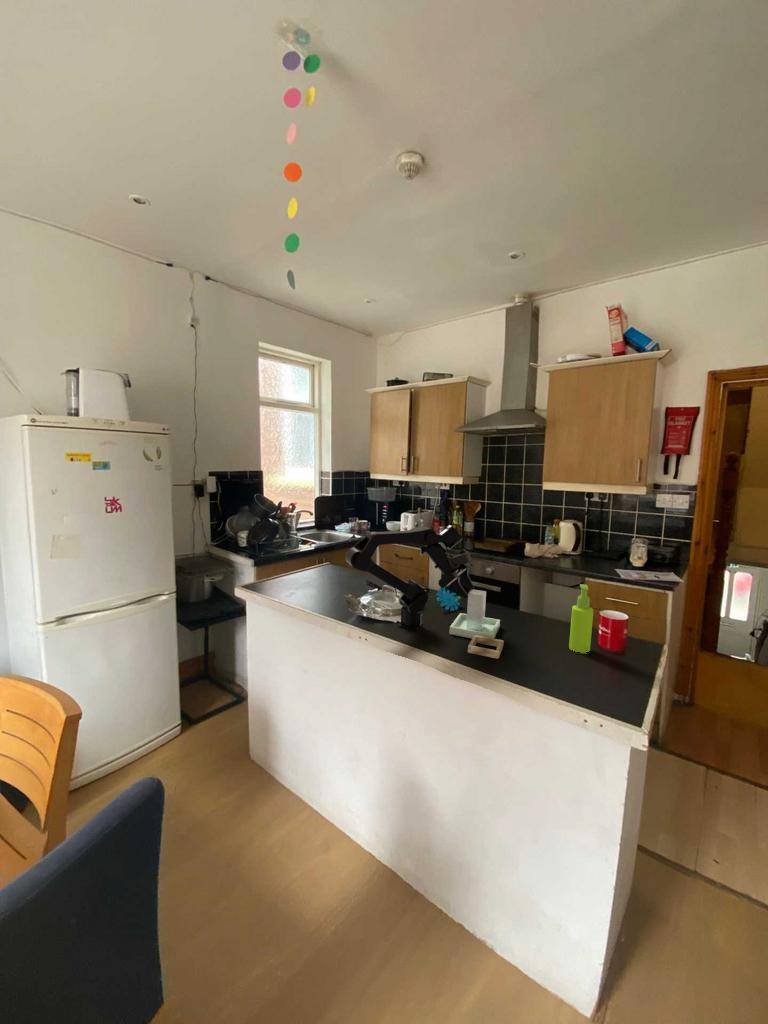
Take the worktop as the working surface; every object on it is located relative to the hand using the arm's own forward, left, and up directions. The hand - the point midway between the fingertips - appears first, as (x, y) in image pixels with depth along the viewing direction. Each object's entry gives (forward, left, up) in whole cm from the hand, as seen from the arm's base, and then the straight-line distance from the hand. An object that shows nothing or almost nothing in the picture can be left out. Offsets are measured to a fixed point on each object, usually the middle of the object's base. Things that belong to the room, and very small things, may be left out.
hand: (470, 593), depth 142 cm
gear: (-12, +17, -13) cm, 24 cm away
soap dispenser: (+34, +1, -13) cm, 36 cm away
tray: (+2, 0, -13) cm, 13 cm away
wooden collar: (+8, -13, -13) cm, 20 cm away
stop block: (+2, 0, -12) cm, 12 cm away
